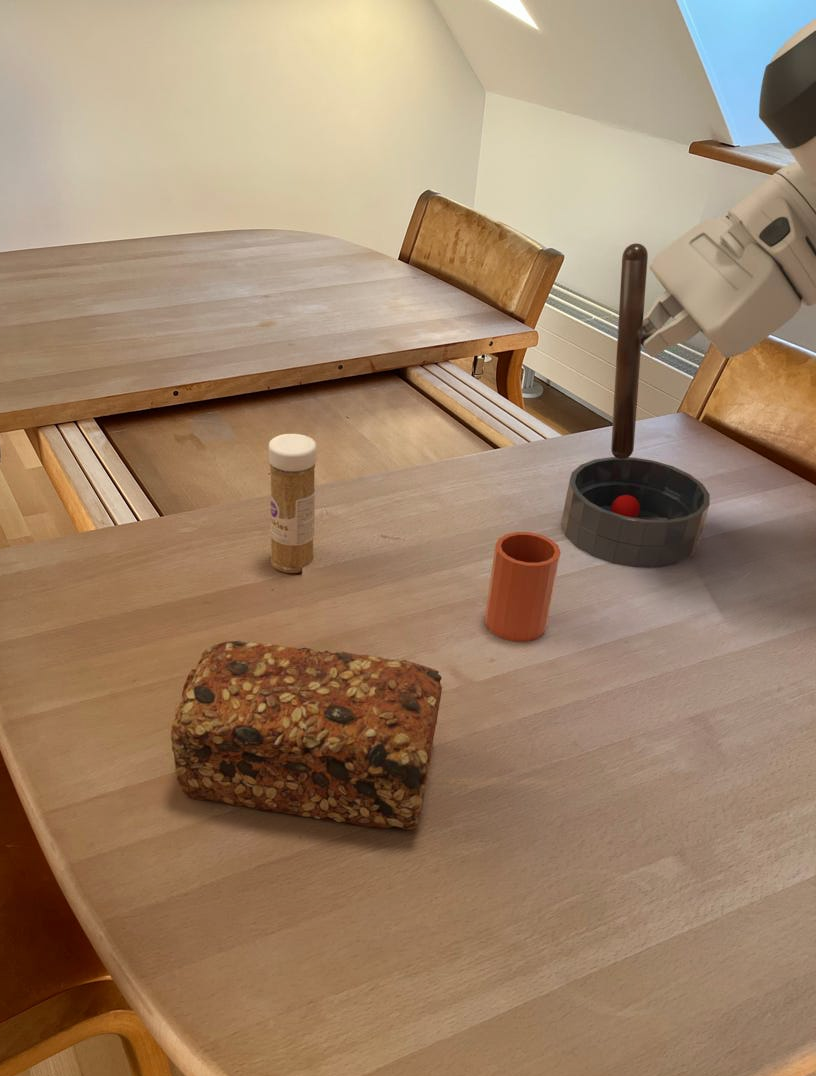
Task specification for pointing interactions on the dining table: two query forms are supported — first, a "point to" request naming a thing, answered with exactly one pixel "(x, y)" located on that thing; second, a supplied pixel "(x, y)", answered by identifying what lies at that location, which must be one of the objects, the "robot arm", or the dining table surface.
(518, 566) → the crock
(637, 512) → the berry
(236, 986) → the dining table surface
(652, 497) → the bowl
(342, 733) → the bread
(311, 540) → the sprinkles bottle
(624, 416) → the stirring stick
